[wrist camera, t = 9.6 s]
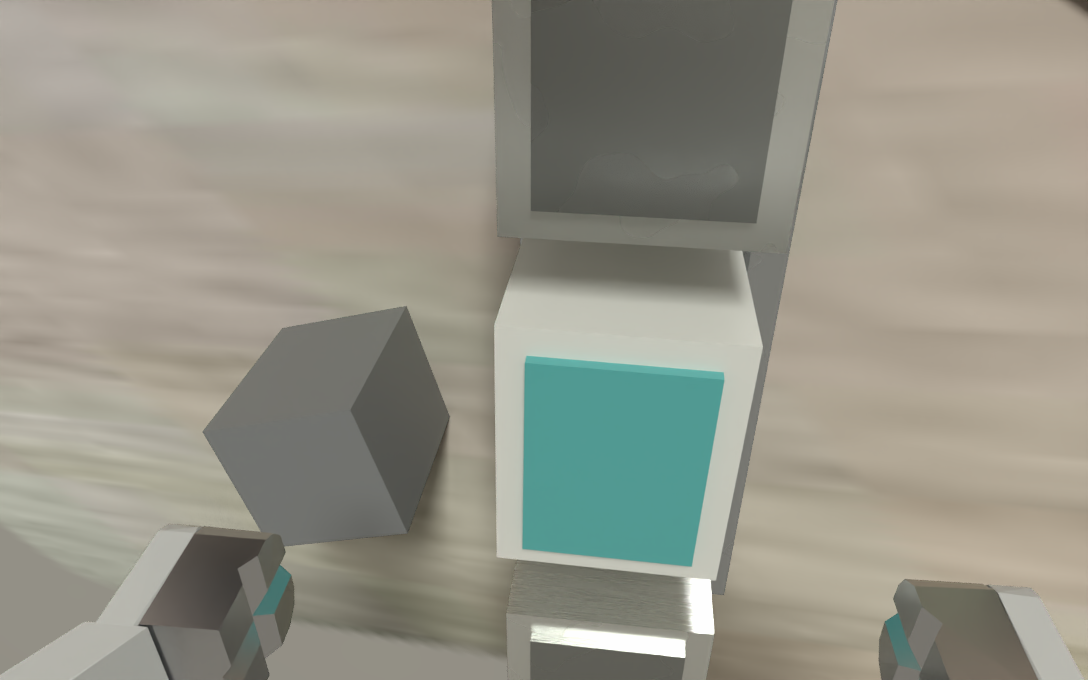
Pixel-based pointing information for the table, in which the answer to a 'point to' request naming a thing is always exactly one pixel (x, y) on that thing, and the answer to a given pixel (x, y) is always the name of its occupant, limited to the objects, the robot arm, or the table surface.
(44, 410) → the table surface
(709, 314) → the block
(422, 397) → the block
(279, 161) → the table surface
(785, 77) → the rail
